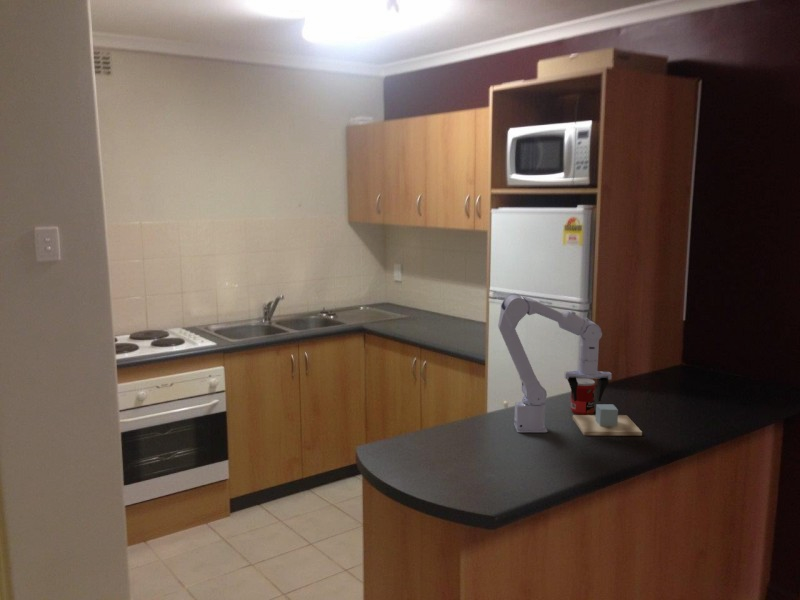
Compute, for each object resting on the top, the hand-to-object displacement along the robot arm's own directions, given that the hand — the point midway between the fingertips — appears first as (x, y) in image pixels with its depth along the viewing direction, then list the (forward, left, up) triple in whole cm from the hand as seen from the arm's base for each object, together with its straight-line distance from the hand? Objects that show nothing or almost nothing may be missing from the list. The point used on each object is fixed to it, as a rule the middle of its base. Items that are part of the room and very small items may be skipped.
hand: (586, 400), depth 227 cm
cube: (+7, +1, -8) cm, 11 cm away
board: (+7, +1, -9) cm, 12 cm away
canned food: (+3, +16, -9) cm, 19 cm away
